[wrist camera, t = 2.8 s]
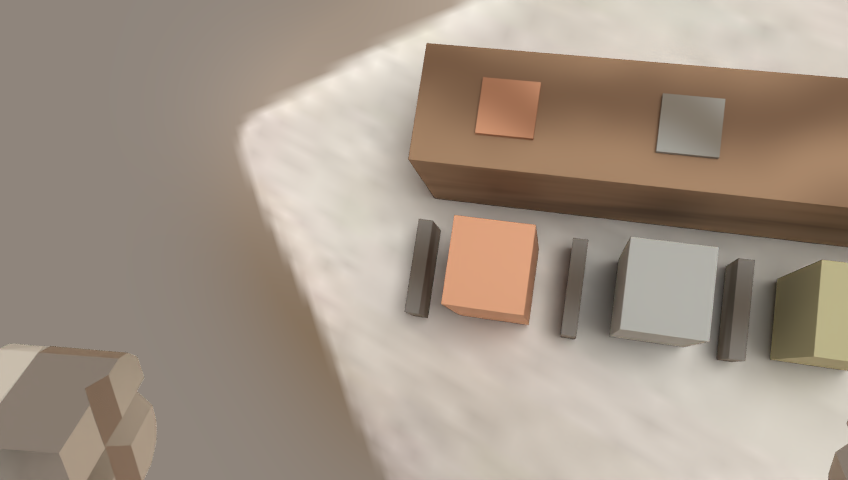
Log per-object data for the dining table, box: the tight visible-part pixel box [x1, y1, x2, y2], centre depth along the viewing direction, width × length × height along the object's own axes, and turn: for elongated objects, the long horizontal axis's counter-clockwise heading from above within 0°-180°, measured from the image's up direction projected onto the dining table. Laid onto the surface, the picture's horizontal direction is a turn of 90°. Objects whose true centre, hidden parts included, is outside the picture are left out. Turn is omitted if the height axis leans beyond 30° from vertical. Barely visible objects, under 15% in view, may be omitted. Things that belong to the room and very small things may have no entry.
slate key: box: [610, 237, 719, 347], centre depth 42 cm, size 4×4×8 cm
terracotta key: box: [441, 215, 539, 325], centre depth 43 cm, size 4×4×8 cm
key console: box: [405, 43, 848, 362], centre depth 42 cm, size 13×26×9 cm, turn 81°
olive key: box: [770, 260, 848, 371], centre depth 40 cm, size 4×4×8 cm
